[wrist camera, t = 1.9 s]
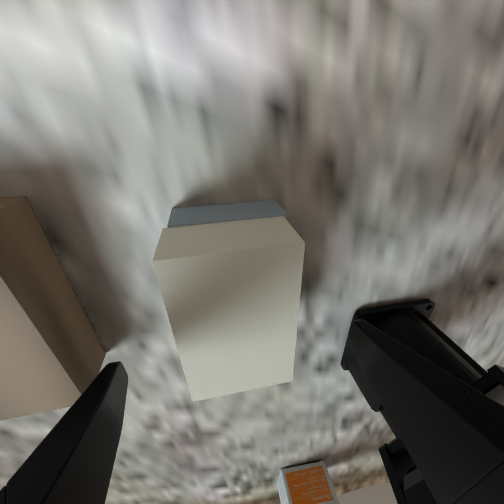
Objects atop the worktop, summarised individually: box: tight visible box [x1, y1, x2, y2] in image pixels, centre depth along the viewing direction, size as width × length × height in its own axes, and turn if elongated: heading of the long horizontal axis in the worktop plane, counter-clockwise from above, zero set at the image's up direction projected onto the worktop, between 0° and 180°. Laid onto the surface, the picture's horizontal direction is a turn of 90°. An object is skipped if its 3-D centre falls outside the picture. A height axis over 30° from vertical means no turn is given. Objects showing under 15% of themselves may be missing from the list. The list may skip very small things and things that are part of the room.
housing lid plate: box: [153, 216, 305, 402], centre depth 11 cm, size 5×8×2 cm, turn 1°
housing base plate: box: [168, 200, 288, 228], centre depth 13 cm, size 5×8×2 cm, turn 1°
